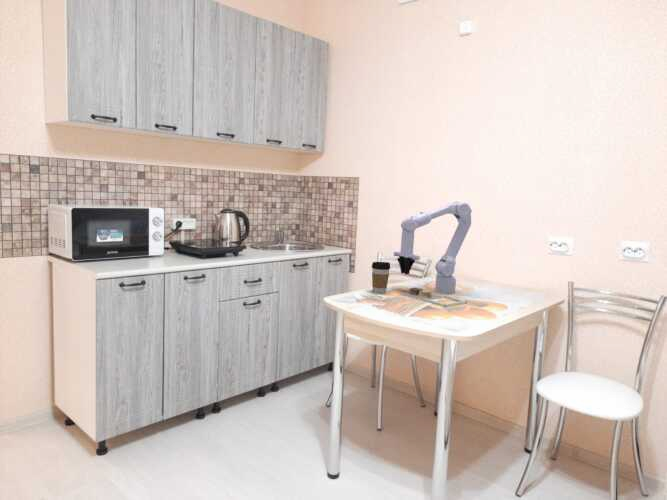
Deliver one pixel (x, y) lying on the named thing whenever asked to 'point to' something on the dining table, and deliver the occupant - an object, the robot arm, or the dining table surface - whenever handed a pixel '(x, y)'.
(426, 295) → the oak tile
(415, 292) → the walnut tile
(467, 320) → the dining table surface
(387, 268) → the coffee cup
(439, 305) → the tray
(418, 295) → the slate board
